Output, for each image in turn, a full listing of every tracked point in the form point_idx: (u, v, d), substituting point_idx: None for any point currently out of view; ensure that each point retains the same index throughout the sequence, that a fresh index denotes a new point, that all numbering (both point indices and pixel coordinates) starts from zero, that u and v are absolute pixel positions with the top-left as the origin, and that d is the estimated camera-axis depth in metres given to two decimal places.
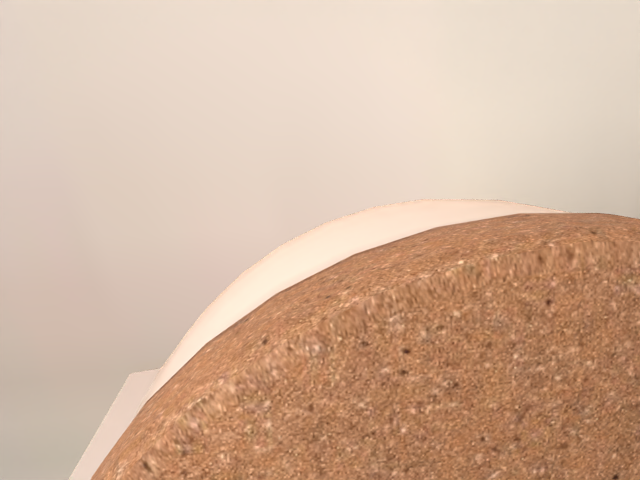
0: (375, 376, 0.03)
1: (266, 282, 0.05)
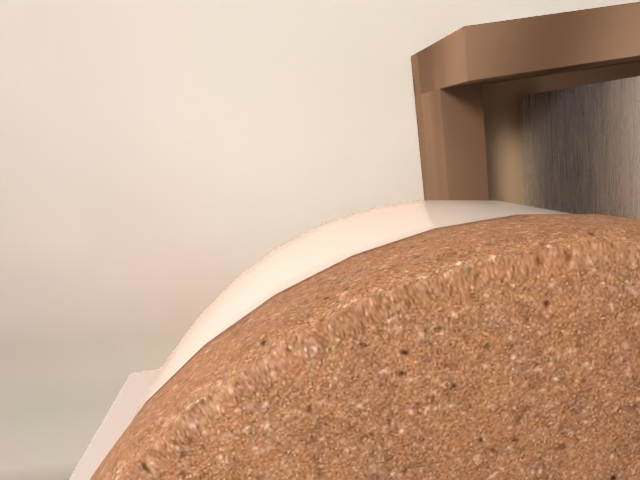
0: (373, 377, 0.04)
1: (265, 283, 0.05)
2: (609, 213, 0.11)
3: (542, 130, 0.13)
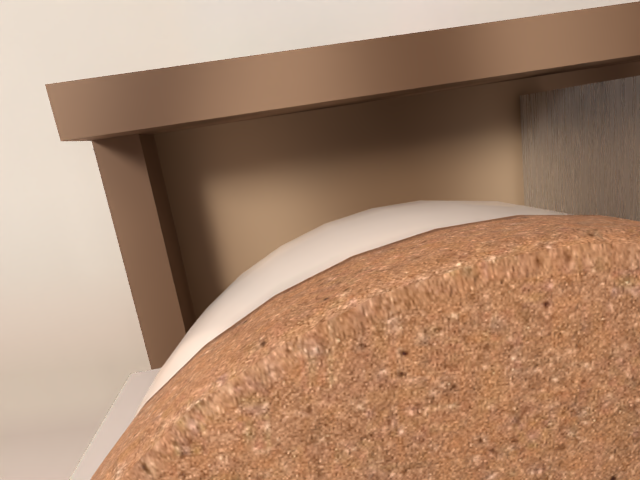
0: (373, 378, 0.04)
1: (265, 283, 0.05)
2: (609, 212, 0.11)
3: (542, 130, 0.13)
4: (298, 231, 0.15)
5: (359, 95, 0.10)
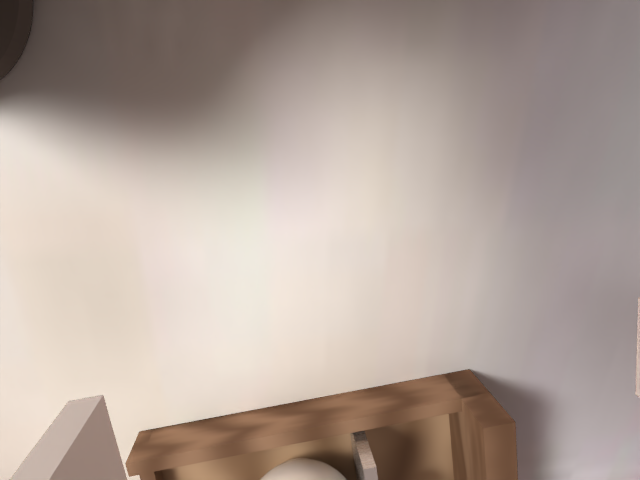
0: None
1: None
2: (360, 475, 0.37)
3: (351, 433, 0.40)
4: (206, 471, 0.40)
5: (214, 459, 0.36)
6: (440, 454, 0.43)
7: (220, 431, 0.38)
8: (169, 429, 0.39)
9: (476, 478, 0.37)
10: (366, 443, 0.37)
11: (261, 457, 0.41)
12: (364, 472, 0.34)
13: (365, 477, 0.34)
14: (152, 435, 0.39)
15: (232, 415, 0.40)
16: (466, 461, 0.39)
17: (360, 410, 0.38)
